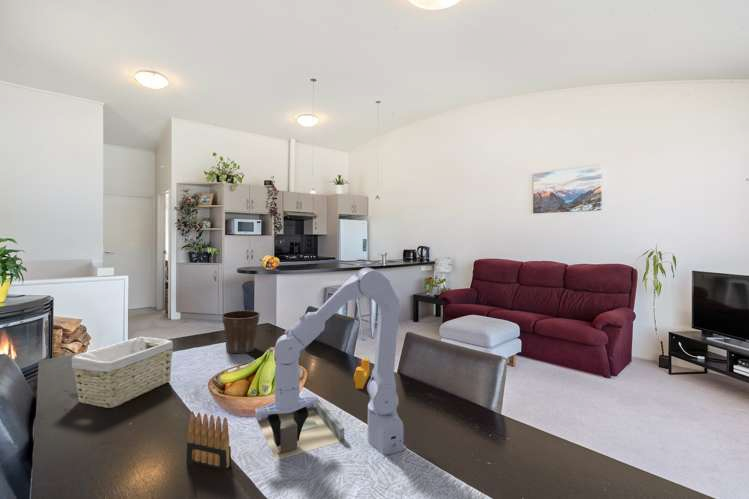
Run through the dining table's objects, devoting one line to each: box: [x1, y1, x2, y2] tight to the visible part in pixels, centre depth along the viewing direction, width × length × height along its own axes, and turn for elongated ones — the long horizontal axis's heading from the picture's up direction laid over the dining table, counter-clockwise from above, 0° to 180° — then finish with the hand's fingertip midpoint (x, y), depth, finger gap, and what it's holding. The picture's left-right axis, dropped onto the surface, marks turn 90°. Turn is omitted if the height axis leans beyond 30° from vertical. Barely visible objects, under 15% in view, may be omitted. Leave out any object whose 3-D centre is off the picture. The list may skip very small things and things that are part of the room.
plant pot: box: [221, 310, 261, 354], centre depth 165 cm, size 16×16×16 cm
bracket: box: [273, 420, 297, 454], centre depth 90 cm, size 7×4×6 cm, turn 29°
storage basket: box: [71, 336, 174, 409], centre depth 120 cm, size 24×16×15 cm
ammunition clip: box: [186, 410, 232, 471], centre depth 82 cm, size 11×2×12 cm, turn 73°
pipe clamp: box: [353, 358, 370, 390], centre depth 131 cm, size 12×4×6 cm, turn 171°
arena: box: [256, 396, 345, 461], centre depth 97 cm, size 20×17×4 cm
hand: (286, 441), depth 89 cm, fingers closed on bracket, 4 cm apart
